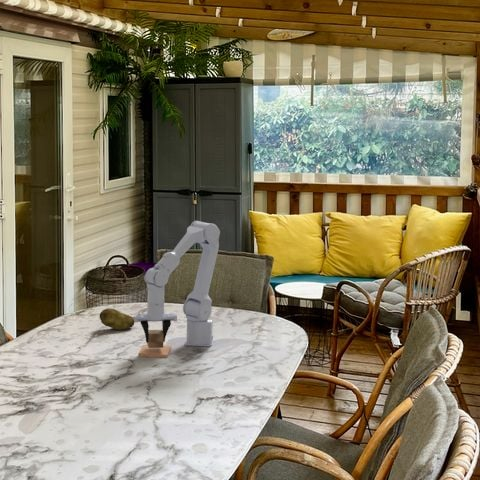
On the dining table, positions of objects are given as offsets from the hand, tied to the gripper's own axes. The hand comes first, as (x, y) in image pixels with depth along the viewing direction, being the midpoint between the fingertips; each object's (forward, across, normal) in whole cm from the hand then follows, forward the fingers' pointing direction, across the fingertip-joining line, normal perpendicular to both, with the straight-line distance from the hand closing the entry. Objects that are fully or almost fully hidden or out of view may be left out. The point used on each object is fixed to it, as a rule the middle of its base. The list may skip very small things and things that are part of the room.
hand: (155, 341), depth 257 cm
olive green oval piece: (+4, +11, -31) cm, 33 cm away
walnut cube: (+2, 0, 0) cm, 2 cm away
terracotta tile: (+4, 0, 0) cm, 4 cm away
